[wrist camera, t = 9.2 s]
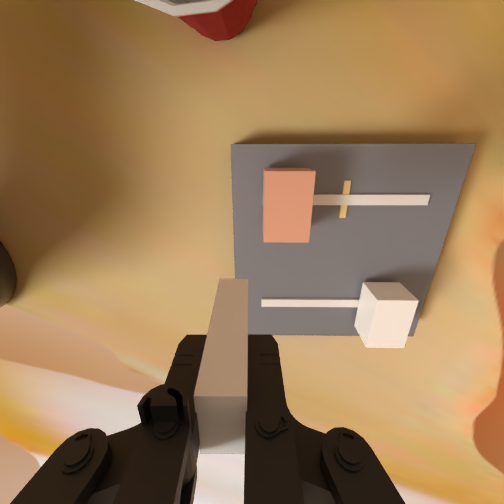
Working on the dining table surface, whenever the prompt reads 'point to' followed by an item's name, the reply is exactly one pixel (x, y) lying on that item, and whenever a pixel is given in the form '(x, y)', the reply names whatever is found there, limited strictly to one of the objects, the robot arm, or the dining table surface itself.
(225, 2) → the plastic cup
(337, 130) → the dining table surface
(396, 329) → the fader
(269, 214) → the fader
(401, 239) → the slider panel
